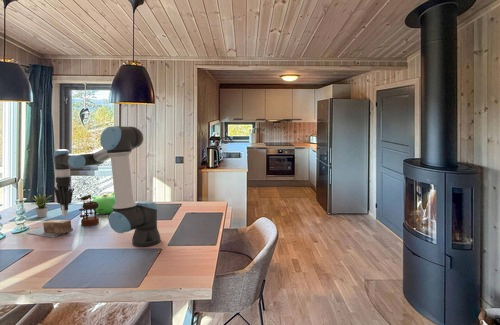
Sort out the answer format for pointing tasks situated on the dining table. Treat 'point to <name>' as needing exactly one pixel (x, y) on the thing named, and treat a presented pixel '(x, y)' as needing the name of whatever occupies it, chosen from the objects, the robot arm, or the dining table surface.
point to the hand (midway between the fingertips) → (64, 215)
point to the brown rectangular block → (57, 226)
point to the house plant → (41, 206)
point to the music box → (92, 219)
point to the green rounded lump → (105, 203)
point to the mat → (44, 233)
